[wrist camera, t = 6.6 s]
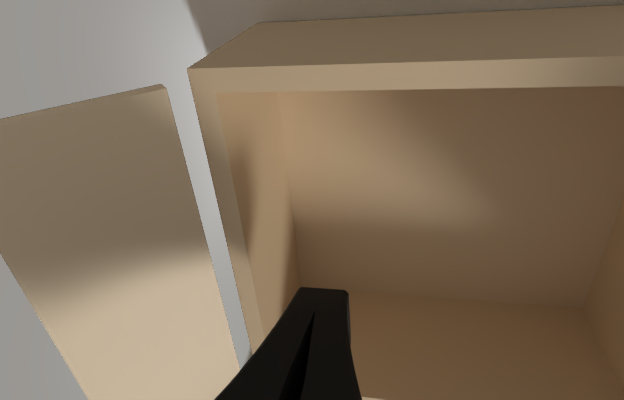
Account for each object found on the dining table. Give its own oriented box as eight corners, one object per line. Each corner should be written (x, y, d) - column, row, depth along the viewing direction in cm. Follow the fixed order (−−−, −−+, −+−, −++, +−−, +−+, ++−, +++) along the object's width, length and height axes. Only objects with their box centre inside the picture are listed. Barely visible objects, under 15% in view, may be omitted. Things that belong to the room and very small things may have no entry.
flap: (130, 469, 15) (127, 456, 15) (247, 400, 16) (242, 390, 17) (-68, 140, 8) (-64, 133, 8) (166, 88, 10) (160, 84, 10)
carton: (589, 310, 19) (654, 442, 14) (293, 288, 22) (261, 393, 17) (711, 0, 12) (918, 48, 7) (257, 22, 15) (186, 68, 10)
